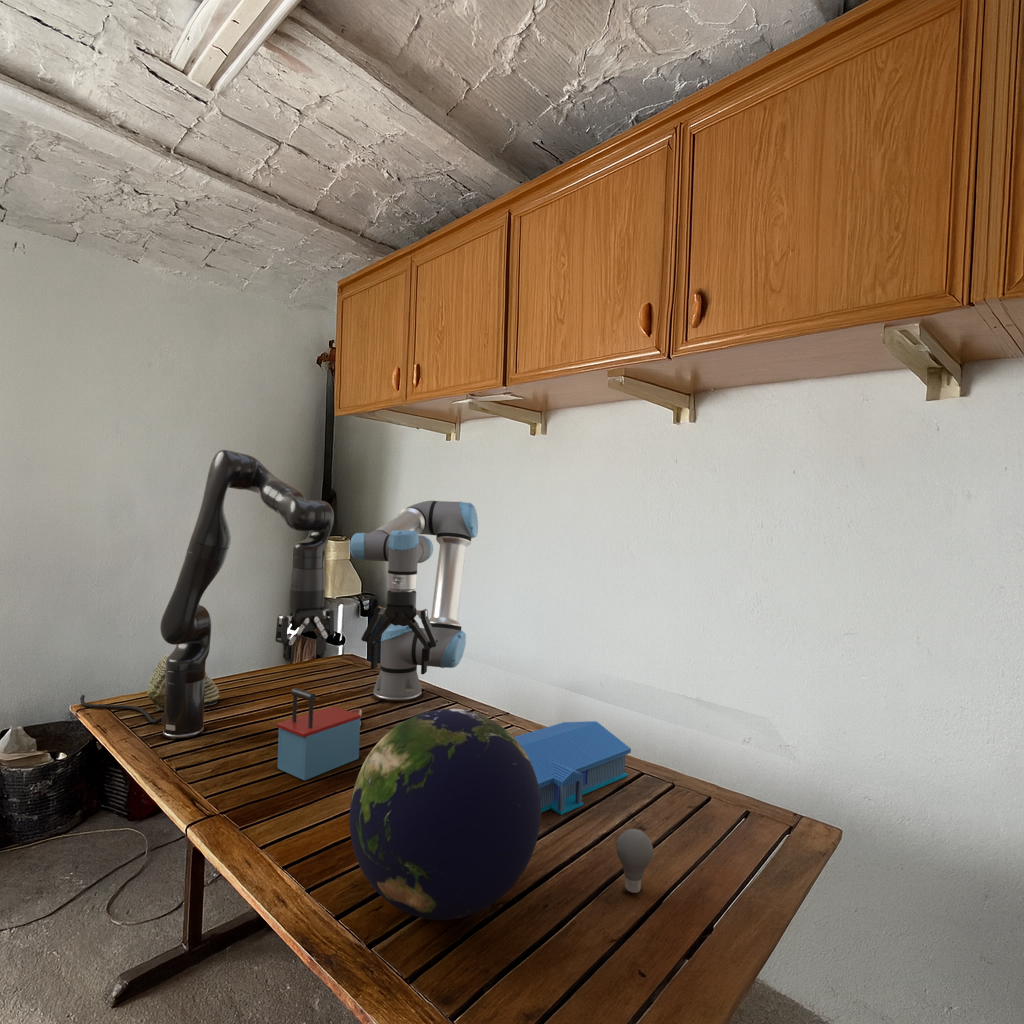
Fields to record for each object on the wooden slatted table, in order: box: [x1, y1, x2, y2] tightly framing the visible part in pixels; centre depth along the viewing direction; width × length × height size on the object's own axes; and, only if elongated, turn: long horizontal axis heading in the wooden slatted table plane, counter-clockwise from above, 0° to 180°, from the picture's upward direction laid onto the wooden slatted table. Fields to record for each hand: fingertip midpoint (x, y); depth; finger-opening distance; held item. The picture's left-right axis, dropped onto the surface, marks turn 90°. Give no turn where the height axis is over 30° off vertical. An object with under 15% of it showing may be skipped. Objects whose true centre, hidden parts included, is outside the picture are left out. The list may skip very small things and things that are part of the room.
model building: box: [513, 720, 632, 816], centre depth 144 cm, size 39×24×10 cm, turn 132°
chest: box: [277, 717, 361, 781], centre depth 150 cm, size 16×10×10 cm, turn 146°
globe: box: [349, 708, 542, 921], centre depth 100 cm, size 30×30×30 cm
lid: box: [276, 687, 361, 737], centre depth 150 cm, size 16×10×9 cm, turn 146°
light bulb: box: [615, 828, 654, 894], centre depth 106 cm, size 6×6×10 cm
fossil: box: [147, 654, 221, 712], centre depth 185 cm, size 9×18×15 cm, turn 132°
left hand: (304, 657), depth 145 cm, fingers open, 8 cm apart
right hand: (398, 670), depth 165 cm, fingers open, 13 cm apart
